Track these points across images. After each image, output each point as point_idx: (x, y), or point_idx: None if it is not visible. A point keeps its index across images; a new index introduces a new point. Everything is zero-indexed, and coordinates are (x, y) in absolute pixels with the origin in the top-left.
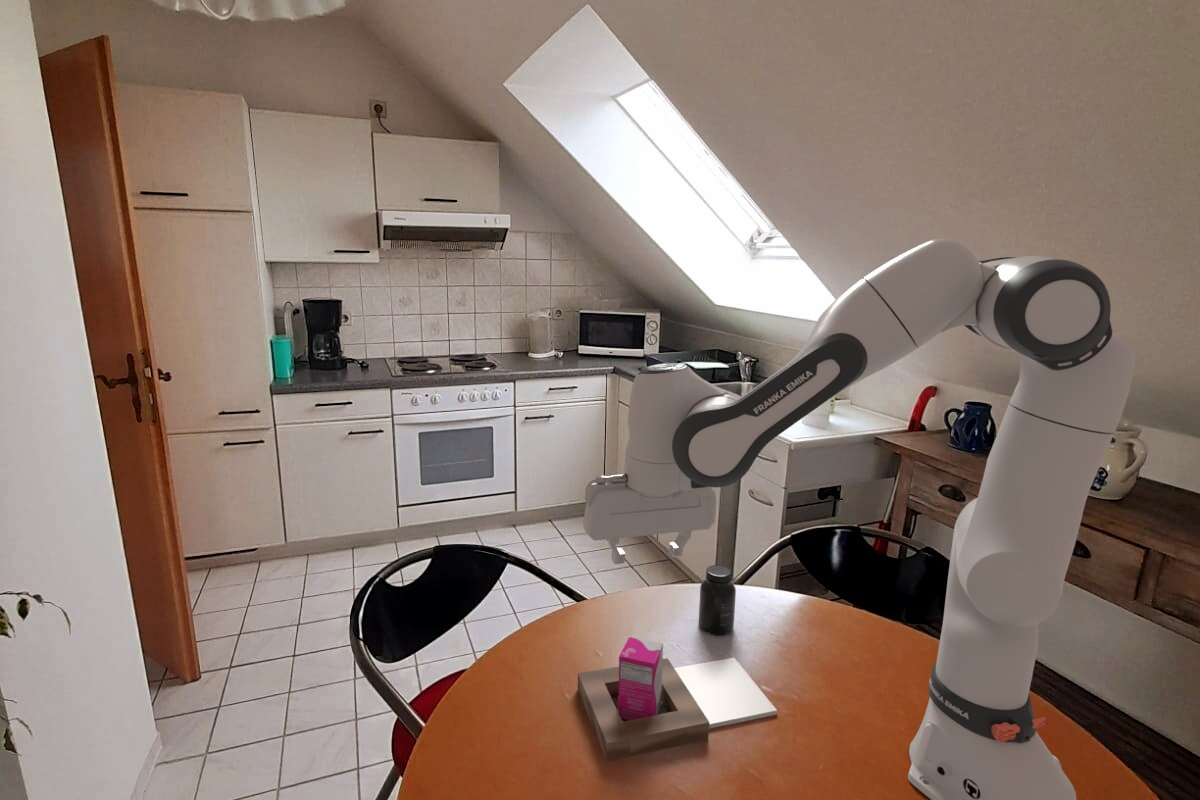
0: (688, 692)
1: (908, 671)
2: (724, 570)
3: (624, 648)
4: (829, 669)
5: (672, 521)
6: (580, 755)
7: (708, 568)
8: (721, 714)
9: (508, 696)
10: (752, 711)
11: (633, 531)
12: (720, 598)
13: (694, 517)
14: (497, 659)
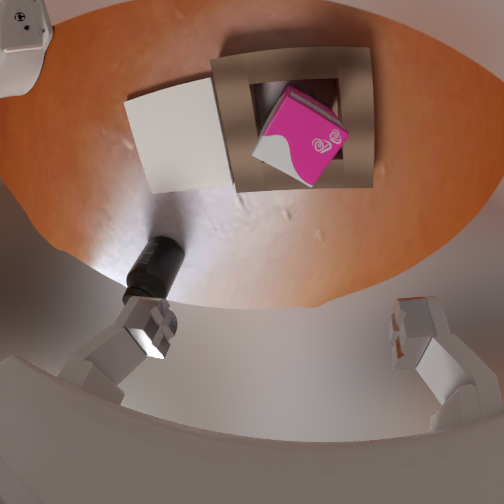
0: (223, 118)
1: (26, 168)
2: None
3: (332, 154)
4: (71, 172)
5: (94, 469)
6: (392, 68)
7: None
8: (188, 94)
9: (443, 188)
10: (150, 99)
11: (403, 479)
12: (144, 269)
13: (17, 422)
14: (431, 248)
